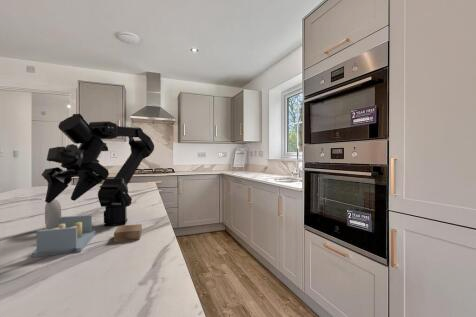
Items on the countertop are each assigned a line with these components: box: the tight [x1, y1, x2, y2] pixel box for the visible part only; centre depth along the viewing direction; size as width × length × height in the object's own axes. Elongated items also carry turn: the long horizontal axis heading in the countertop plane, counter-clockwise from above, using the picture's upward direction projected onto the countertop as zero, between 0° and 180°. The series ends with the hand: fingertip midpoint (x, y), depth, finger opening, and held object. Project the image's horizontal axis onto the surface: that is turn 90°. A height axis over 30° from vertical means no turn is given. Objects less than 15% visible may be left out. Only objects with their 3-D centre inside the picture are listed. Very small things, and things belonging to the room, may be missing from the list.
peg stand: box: [31, 214, 97, 258], centre depth 63 cm, size 10×14×6 cm
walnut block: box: [113, 223, 143, 243], centre depth 68 cm, size 6×6×3 cm
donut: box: [44, 198, 62, 230], centre depth 75 cm, size 10×4×10 cm, turn 46°
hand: (59, 201), depth 61 cm, fingers open, 9 cm apart
